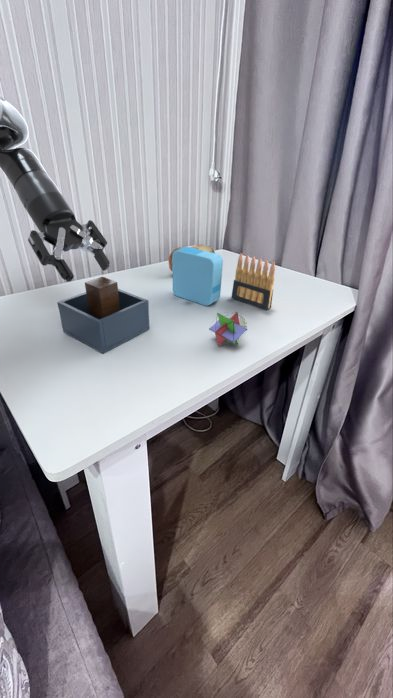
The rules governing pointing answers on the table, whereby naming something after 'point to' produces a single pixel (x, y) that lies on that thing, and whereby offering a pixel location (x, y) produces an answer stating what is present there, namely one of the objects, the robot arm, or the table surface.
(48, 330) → the table surface
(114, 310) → the block
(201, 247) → the tin
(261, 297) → the ammunition clip
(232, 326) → the geometric puzzle
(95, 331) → the bin
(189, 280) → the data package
